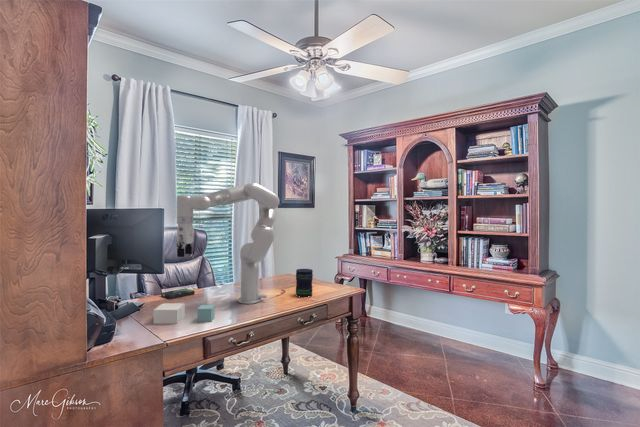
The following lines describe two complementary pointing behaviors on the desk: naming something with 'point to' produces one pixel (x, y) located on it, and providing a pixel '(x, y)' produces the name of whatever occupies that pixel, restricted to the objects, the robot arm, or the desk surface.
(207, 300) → the desk surface
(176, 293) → the disk drive
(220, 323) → the desk surface
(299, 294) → the storage jar
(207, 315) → the teal cube
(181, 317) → the cream block
